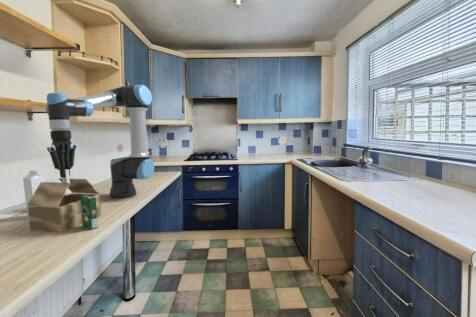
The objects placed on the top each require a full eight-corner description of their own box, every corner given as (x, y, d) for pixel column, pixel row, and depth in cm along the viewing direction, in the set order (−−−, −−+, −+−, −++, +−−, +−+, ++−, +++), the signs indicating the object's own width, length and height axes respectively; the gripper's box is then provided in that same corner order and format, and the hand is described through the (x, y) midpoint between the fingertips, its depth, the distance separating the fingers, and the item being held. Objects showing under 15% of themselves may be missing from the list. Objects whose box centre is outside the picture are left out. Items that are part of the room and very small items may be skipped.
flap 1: (41, 182, 122) (40, 182, 122) (70, 183, 118) (69, 183, 118) (28, 205, 117) (27, 205, 116) (57, 207, 113) (57, 206, 112)
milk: (35, 219, 132) (29, 172, 129) (27, 217, 135) (21, 171, 132) (48, 215, 138) (43, 170, 135) (40, 214, 140) (35, 169, 137)
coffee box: (99, 227, 118) (96, 196, 116) (92, 229, 115) (89, 198, 114) (89, 224, 123) (86, 194, 121) (82, 226, 120) (79, 195, 119)
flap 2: (72, 192, 138) (73, 192, 138) (98, 193, 134) (99, 193, 134) (58, 178, 130) (59, 178, 131) (86, 179, 126) (86, 178, 126)
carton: (73, 213, 139) (71, 193, 138) (101, 215, 135) (99, 194, 134) (30, 229, 118) (27, 206, 117) (61, 232, 114) (58, 207, 112)
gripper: (66, 129, 130) (71, 181, 132) (39, 130, 117) (45, 187, 120) (79, 129, 128) (84, 181, 130) (54, 130, 115) (60, 187, 118)
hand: (66, 184), depth 125 cm, fingers closed
